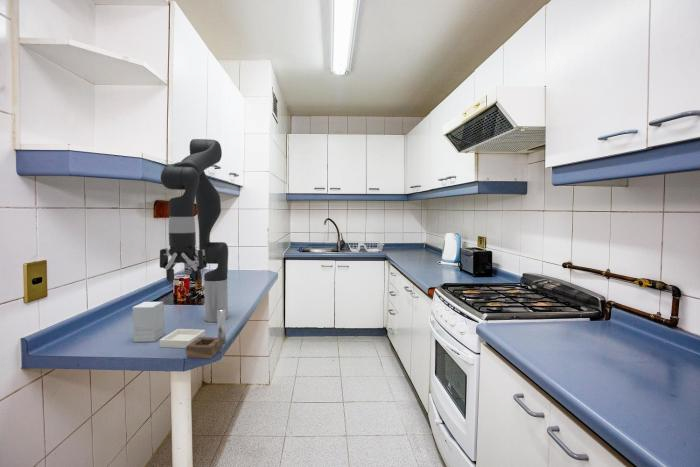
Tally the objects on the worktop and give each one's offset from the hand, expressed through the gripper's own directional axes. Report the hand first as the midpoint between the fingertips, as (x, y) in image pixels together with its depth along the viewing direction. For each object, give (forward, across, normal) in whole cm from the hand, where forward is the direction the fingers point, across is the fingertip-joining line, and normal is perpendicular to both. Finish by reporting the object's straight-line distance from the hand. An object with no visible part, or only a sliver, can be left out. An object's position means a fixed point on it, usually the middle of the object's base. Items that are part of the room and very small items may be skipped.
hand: (183, 281), depth 104 cm
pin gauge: (+24, -7, -10) cm, 27 cm away
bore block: (+24, -6, -1) cm, 25 cm away
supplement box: (+24, +21, -11) cm, 34 cm away
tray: (+24, +6, -9) cm, 27 cm away
